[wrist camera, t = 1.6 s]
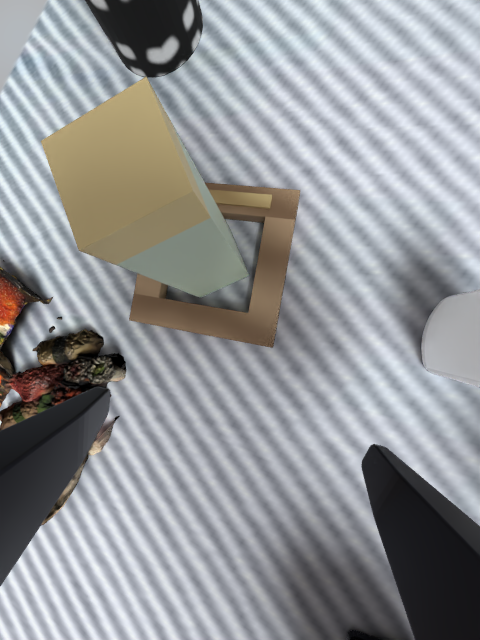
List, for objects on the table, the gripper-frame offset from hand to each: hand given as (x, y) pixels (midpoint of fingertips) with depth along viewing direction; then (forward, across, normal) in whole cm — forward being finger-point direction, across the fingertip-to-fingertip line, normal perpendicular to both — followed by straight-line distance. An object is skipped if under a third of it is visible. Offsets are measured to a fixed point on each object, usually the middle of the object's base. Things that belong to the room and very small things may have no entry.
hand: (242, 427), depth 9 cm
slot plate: (+15, +3, -3) cm, 16 cm away
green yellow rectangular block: (+15, +3, -3) cm, 16 cm away
